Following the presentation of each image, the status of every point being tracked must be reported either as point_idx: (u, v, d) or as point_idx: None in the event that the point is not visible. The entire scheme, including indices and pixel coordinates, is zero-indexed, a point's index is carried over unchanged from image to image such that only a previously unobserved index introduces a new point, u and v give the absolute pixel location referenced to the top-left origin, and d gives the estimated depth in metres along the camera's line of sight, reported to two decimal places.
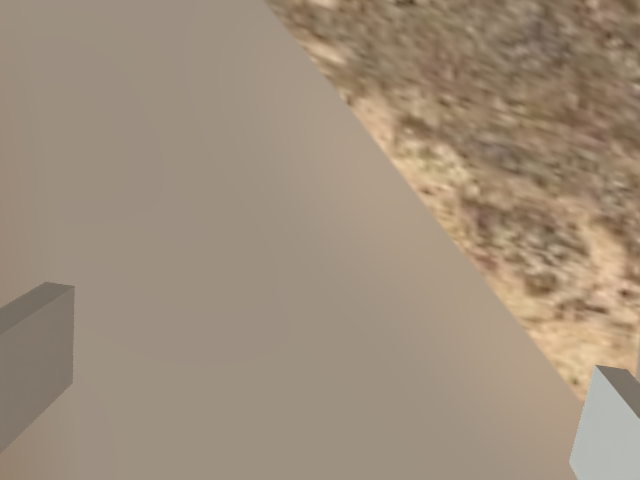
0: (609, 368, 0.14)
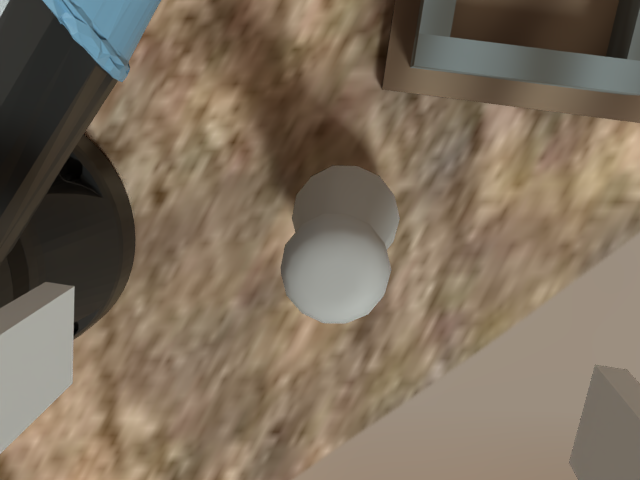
0: (609, 368, 0.14)
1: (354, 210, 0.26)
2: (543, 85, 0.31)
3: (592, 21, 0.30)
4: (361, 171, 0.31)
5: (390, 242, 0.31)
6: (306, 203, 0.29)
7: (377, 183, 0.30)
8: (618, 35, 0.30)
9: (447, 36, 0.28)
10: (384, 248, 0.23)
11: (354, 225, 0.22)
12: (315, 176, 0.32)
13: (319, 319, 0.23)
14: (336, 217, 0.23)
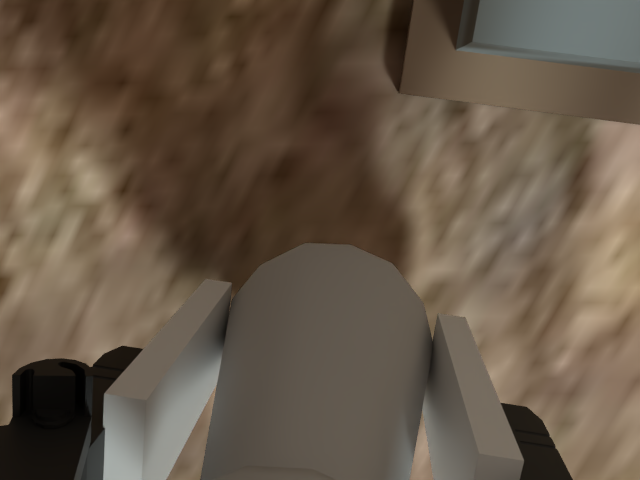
0: (449, 316, 0.16)
1: (338, 399, 0.10)
2: None
3: None
4: (358, 259, 0.15)
5: None
6: (237, 342, 0.13)
7: (391, 288, 0.15)
8: None
9: None
10: None
11: None
12: (267, 267, 0.16)
13: None
14: None
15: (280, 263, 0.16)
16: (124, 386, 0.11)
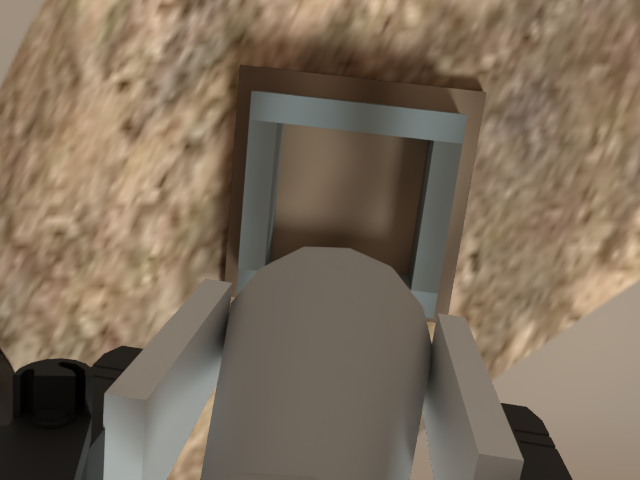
0: (449, 316, 0.16)
1: (337, 406, 0.10)
2: None
3: (394, 243, 0.36)
4: (357, 263, 0.15)
5: None
6: (237, 347, 0.13)
7: (390, 292, 0.15)
8: (411, 260, 0.35)
9: None
10: None
11: None
12: (266, 270, 0.16)
13: None
14: None
15: (279, 267, 0.16)
16: (124, 386, 0.11)
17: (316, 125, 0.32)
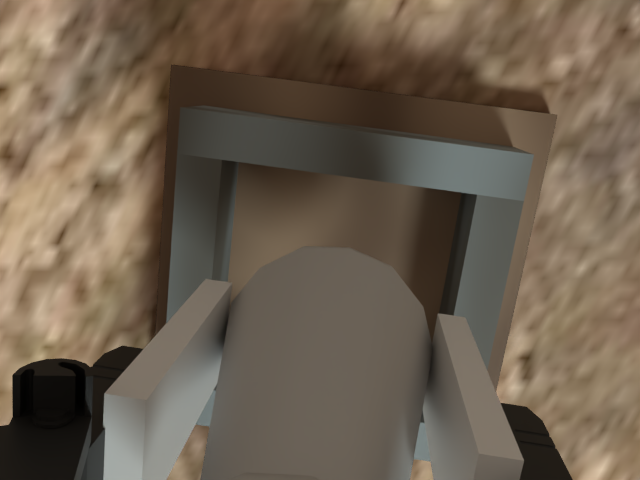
0: (449, 316, 0.16)
1: (337, 404, 0.10)
2: None
3: None
4: (358, 263, 0.15)
5: None
6: (237, 346, 0.13)
7: (390, 292, 0.15)
8: None
9: None
10: None
11: None
12: (266, 270, 0.16)
13: None
14: None
15: (279, 266, 0.16)
16: (124, 386, 0.11)
17: (285, 165, 0.19)
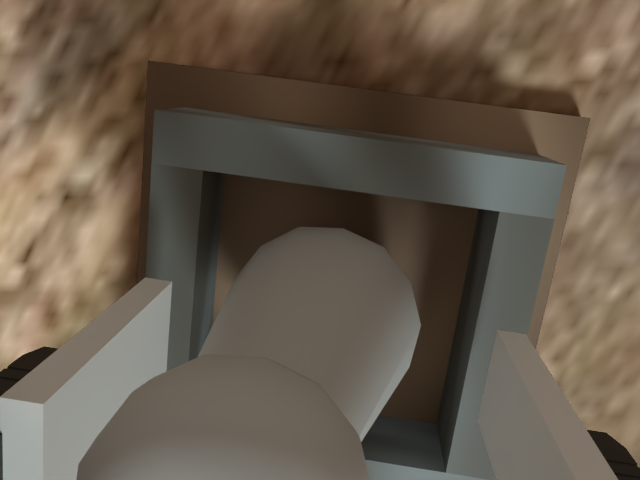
0: (509, 333, 0.15)
1: (307, 330, 0.12)
2: None
3: (415, 372, 0.21)
4: (349, 238, 0.17)
5: (401, 375, 0.16)
6: (231, 301, 0.15)
7: (377, 262, 0.16)
8: (445, 408, 0.20)
9: None
10: (352, 468, 0.08)
11: (264, 404, 0.08)
12: (266, 245, 0.17)
13: None
14: (221, 373, 0.08)
15: (278, 241, 0.17)
16: (23, 389, 0.10)
17: (276, 177, 0.17)
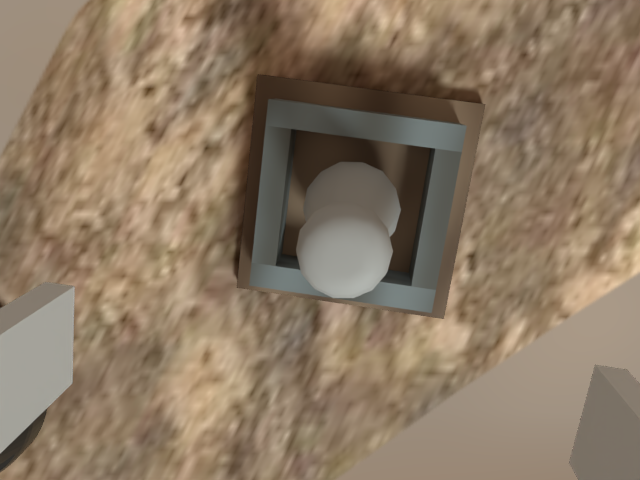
0: (609, 368, 0.14)
1: (360, 201, 0.29)
2: None
3: (397, 242, 0.38)
4: (366, 167, 0.34)
5: (392, 231, 0.34)
6: (317, 195, 0.32)
7: (380, 177, 0.34)
8: (412, 259, 0.37)
9: (273, 265, 0.36)
10: (387, 232, 0.26)
11: (361, 212, 0.26)
12: (324, 171, 0.35)
13: (329, 294, 0.26)
14: (345, 205, 0.26)
15: (331, 169, 0.35)
16: None
17: (327, 132, 0.34)
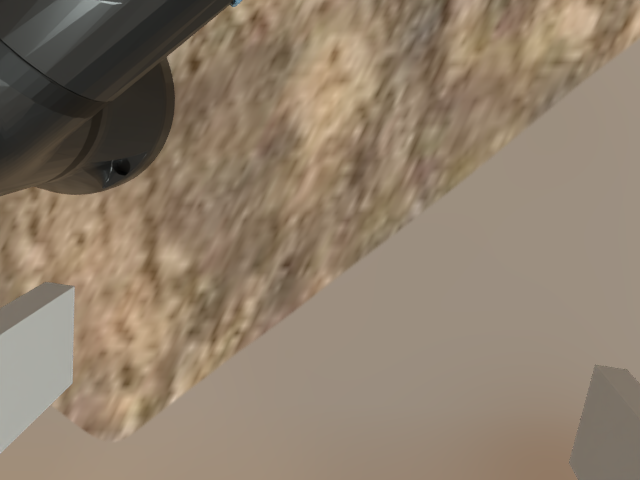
0: (609, 368, 0.14)
1: None
2: None
3: None
4: None
5: None
6: None
7: None
8: None
9: None
10: None
11: None
12: None
13: None
14: None
15: None
16: None
17: None
